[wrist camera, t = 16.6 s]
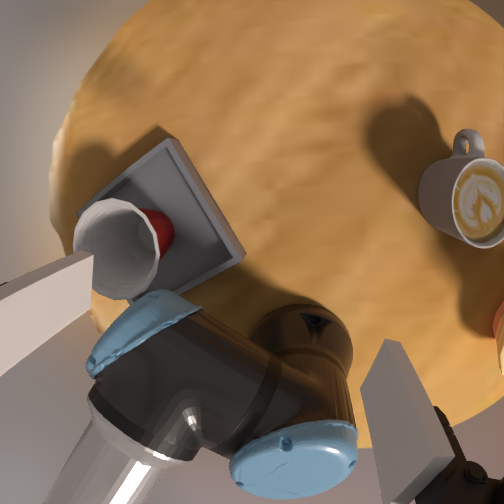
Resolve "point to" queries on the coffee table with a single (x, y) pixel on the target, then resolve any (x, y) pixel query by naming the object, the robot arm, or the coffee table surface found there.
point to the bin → (177, 217)
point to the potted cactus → (499, 335)
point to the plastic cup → (123, 246)
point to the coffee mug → (465, 193)
